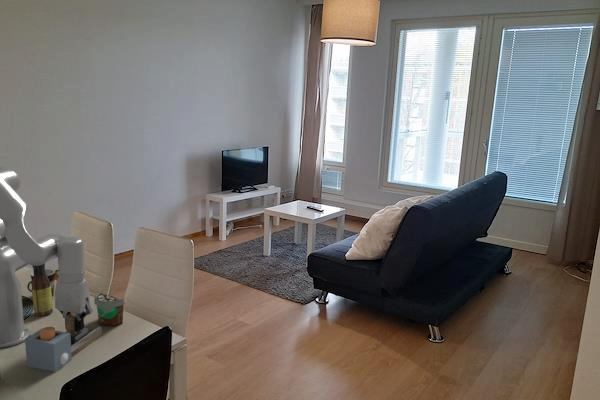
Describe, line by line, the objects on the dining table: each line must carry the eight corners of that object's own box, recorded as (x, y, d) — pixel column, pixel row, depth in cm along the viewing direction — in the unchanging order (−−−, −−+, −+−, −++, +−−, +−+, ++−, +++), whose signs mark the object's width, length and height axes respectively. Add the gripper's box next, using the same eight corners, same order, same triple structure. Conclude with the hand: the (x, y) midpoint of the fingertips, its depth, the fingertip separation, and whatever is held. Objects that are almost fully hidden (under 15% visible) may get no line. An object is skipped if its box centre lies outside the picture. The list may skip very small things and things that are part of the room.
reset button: (37, 345, 145) (36, 331, 144) (47, 339, 148) (46, 325, 147) (49, 347, 144) (48, 334, 143) (58, 341, 147) (57, 328, 146)
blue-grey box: (27, 366, 145) (24, 338, 143) (44, 354, 152) (42, 328, 150) (56, 372, 143) (54, 344, 141) (72, 360, 149) (71, 333, 148)
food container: (87, 322, 174) (86, 296, 172) (101, 316, 179) (100, 290, 177) (111, 331, 168) (110, 304, 166) (125, 324, 173) (124, 298, 171)
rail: (45, 355, 151) (45, 347, 150) (82, 331, 167) (81, 323, 167) (67, 360, 149) (67, 351, 149) (102, 334, 165) (102, 326, 165)
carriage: (62, 342, 156) (60, 317, 154) (75, 334, 161) (73, 309, 160) (75, 345, 155) (74, 319, 153) (88, 336, 160) (86, 311, 158)
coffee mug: (50, 290, 199) (49, 267, 197) (60, 296, 194) (59, 272, 192) (20, 298, 190) (18, 274, 188) (29, 305, 185) (27, 280, 183)
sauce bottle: (56, 310, 182) (53, 260, 177) (46, 317, 176) (43, 266, 171) (40, 308, 182) (36, 258, 178) (29, 316, 176) (25, 264, 172)
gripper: (41, 276, 152) (44, 330, 155) (86, 283, 148) (89, 338, 152) (58, 268, 159) (61, 320, 163) (102, 275, 155) (104, 327, 159)
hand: (74, 328), depth 157 cm, fingers closed on carriage, 3 cm apart
